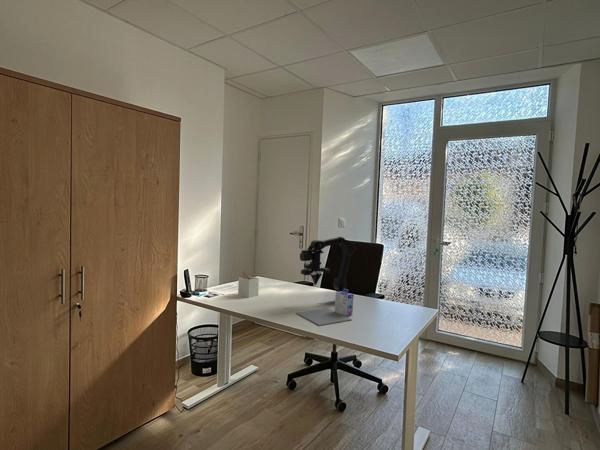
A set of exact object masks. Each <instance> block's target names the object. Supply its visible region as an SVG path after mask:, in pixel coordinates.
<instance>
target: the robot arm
mask: <svg viewBox="0 0 600 450" xmlns="http://www.w3.org/2000/svg"><path fill="white" fill-rule="evenodd" d="M334 245H340V247H341V248H342V249H341V251H342V258H341V264H340V266H339V271H338V275H337V277H334V278H333V282H332V284H333V288H334V289H335V292H343V290H344V288H345V289H348V287H347V280H346V276H347V273H348V268H349V264H350V259H351V257H352V255H353V254H354V253H355V250H356V246H355V244H354V243H351V242H350V241H349V240H347V239H346V238H344V236H343V237H342V236H337V237H333V238H329V239H323V240H322V239H321V240H320V239H319V240H315V239H313V240H311V241H310V245H308V248H307V249H306V250H305V249H302V250H301V252H300V254H299V259H300V261H301V262H305V263H304V264H303V269H301V271H300V274H301V275H304V276H310V277H311V279H312V282H313V284H314V285H315V286H316V285H317V283H318V282H319V279H320V278H321V276H323V273H325V274H330V272H331V271H330V269H329V268H328V267H321V265H322V262H321V254H324V252H325V251H323V249H325V248H326V247H331V246H334ZM308 261H309V262H308ZM344 291H346V292H347V290H344ZM349 292H350V289H348V293H349Z"/></svg>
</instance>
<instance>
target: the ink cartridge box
mask: <svg viewBox="0 0 600 450" xmlns="http://www.w3.org/2000/svg"><path fill="white" fill-rule="evenodd" d="M344 290H347V292H346V291H344ZM344 290H343V292H337V291H335V299H334V311H335V312H337V313H339V314H341V315H344V316H346V317H348V316H353V314H354V313H353V311H354V310H353V309H354V293H348V289H345V288H344Z"/></svg>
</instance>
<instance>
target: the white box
mask: <svg viewBox="0 0 600 450" xmlns="http://www.w3.org/2000/svg"><path fill="white" fill-rule="evenodd" d="M259 280H260V277H255V276H251V275H247V274H246V273H245V270H243V272H242V277H240V276H239V277H238V283H237V285H238V286H237V287H238V288H237V289H238V290H237V295H238V296H240V297H244V298H247V299H250V298H254V297H259V283H260V281H259Z"/></svg>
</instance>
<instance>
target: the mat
mask: <svg viewBox="0 0 600 450" xmlns="http://www.w3.org/2000/svg"><path fill="white" fill-rule="evenodd" d="M295 314H296V315H298V316H300V317H301V318H304V319H305V320H307V321H310V322H311V323H313V324H314V325H316V326H318V327H322V326H326V325H333V324H337V323H338V324H340V323H344V322H350V321H353V319H352V318H350V317H348V316H345V315H342V314H339V313H337V312H335V310H333V309H330V308H327V307H325V308H316V309H311V310H304V311H297V312H295Z"/></svg>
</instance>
